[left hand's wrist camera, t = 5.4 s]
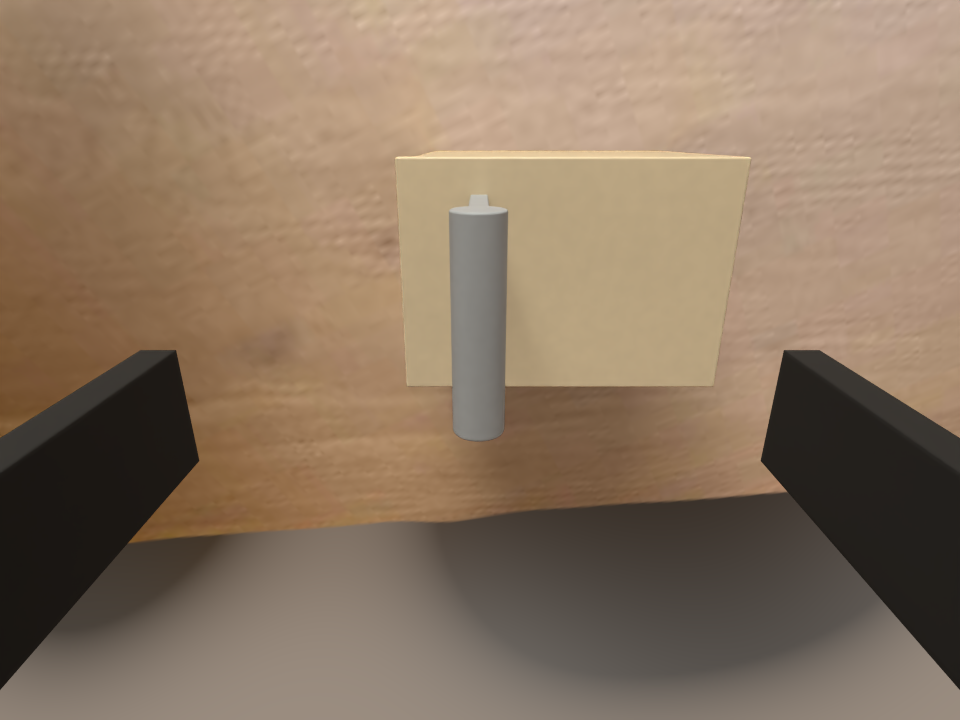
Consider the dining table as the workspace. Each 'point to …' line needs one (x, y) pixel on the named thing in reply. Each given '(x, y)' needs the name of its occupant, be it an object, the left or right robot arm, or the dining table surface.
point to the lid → (563, 273)
